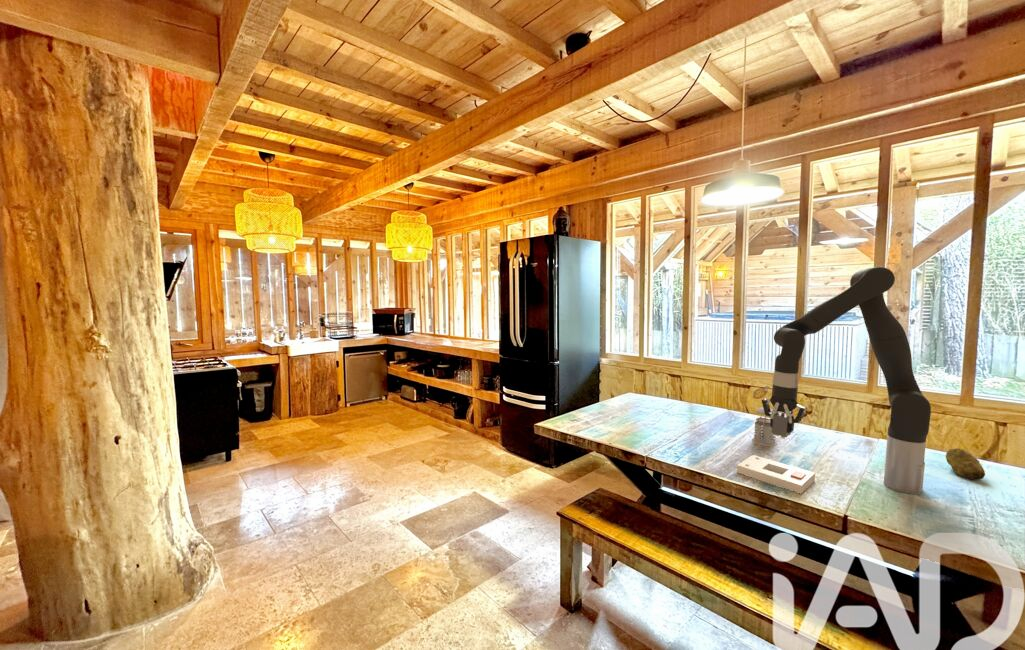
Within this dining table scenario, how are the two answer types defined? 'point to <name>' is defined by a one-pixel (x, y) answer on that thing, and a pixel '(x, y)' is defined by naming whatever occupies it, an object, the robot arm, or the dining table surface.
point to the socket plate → (776, 473)
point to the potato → (965, 464)
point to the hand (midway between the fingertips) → (781, 430)
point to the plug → (780, 425)
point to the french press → (763, 429)
